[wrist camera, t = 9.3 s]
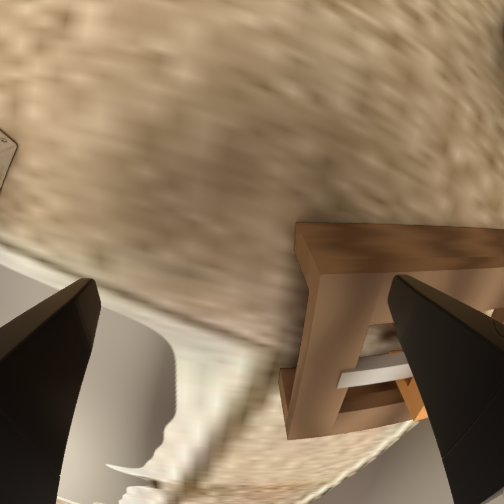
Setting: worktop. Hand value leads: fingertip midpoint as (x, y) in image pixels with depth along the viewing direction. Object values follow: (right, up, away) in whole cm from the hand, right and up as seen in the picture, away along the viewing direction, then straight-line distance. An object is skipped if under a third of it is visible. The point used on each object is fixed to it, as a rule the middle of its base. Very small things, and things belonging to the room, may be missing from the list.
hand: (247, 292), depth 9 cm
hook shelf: (+13, -4, +17) cm, 21 cm away
